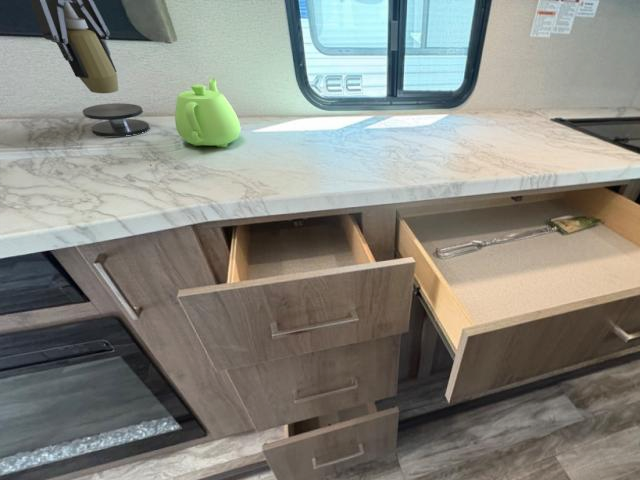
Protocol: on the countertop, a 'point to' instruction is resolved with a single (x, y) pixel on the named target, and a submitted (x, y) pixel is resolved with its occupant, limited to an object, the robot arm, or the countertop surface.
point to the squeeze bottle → (90, 54)
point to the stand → (116, 119)
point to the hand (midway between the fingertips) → (97, 74)
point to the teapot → (206, 116)
